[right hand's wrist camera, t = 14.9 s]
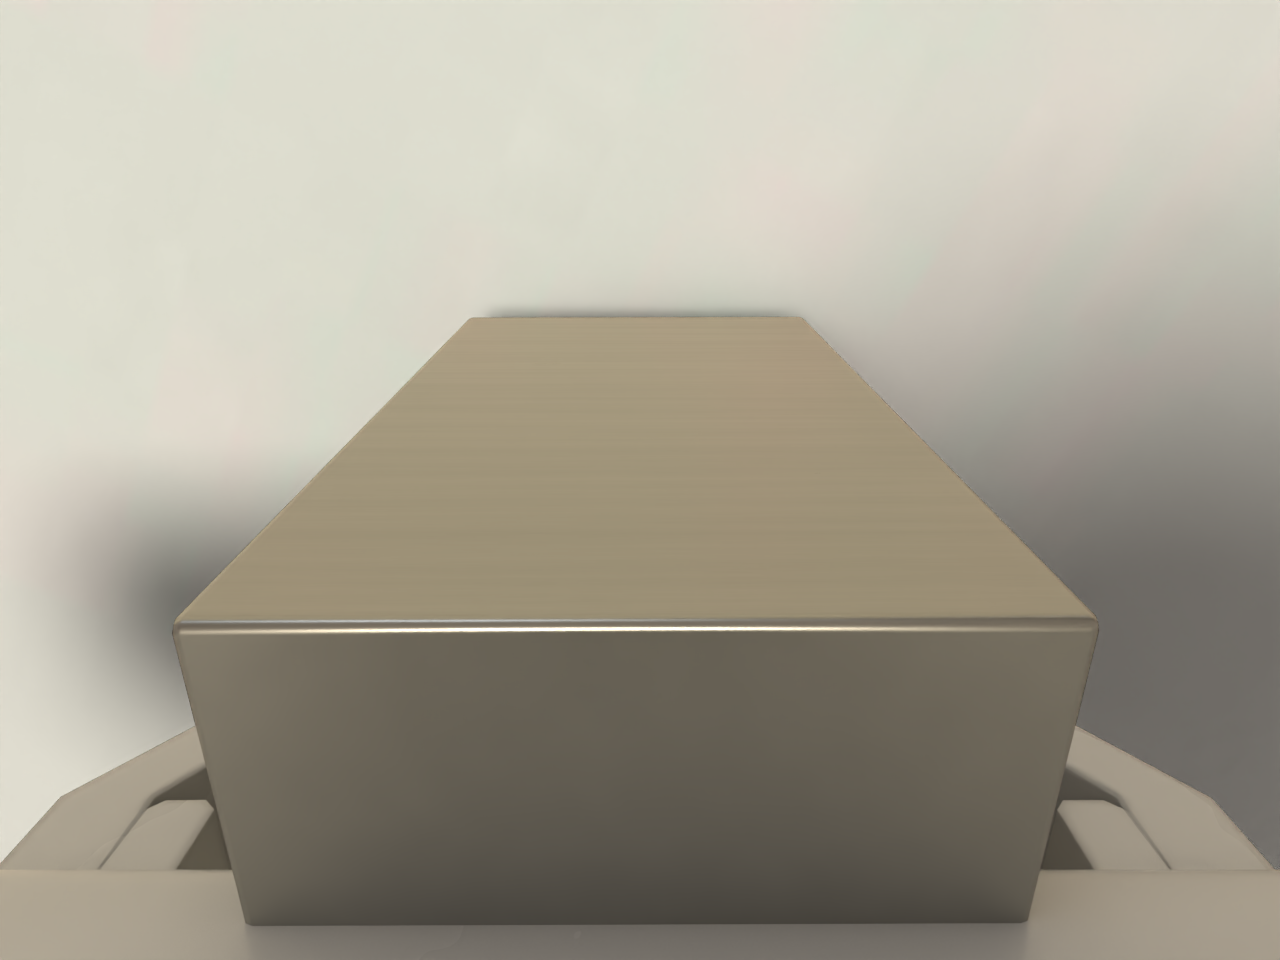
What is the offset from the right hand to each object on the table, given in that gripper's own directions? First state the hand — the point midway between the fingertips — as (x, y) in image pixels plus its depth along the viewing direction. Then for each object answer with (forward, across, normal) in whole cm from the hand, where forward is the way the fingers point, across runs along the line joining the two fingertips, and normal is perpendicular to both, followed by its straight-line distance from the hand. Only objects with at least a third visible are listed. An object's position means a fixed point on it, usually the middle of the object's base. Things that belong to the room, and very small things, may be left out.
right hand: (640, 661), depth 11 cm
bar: (+3, 0, -10) cm, 10 cm away
